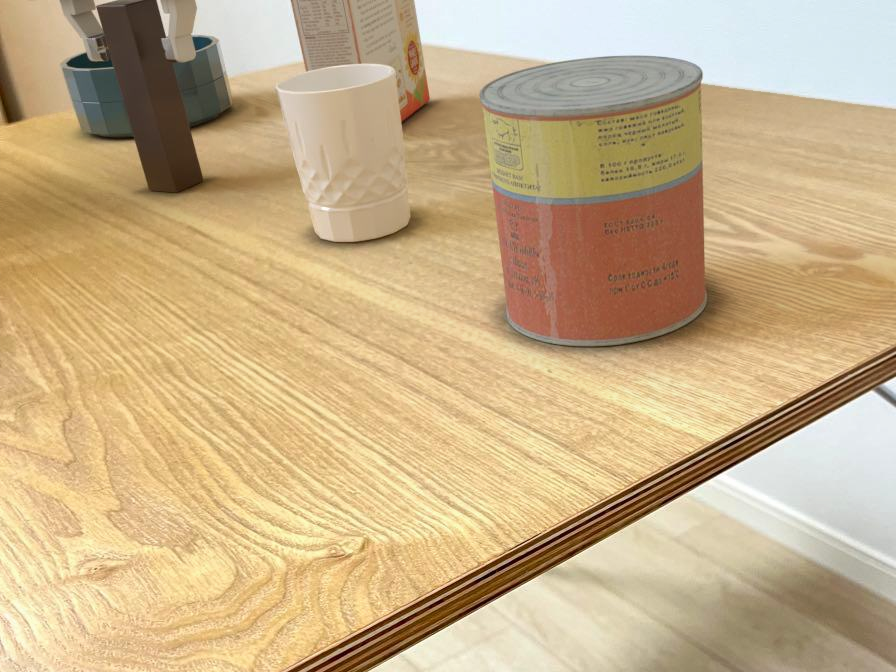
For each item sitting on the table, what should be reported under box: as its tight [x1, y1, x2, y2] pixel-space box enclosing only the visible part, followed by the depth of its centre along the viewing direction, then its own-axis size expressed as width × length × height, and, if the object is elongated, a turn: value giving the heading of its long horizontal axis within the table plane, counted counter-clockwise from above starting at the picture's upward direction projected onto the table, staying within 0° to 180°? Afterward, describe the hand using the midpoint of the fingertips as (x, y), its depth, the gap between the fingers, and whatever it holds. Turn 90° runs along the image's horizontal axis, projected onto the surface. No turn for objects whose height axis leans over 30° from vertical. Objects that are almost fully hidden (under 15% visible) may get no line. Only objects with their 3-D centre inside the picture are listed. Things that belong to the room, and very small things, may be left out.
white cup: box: [274, 64, 412, 243], centre depth 78 cm, size 8×8×10 cm
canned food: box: [478, 55, 708, 347], centre depth 61 cm, size 11×11×12 cm
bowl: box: [59, 34, 234, 139], centre depth 114 cm, size 15×15×6 cm
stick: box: [95, 0, 204, 193], centre depth 90 cm, size 3×3×14 cm
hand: (142, 60), depth 89 cm, fingers open, 7 cm apart
